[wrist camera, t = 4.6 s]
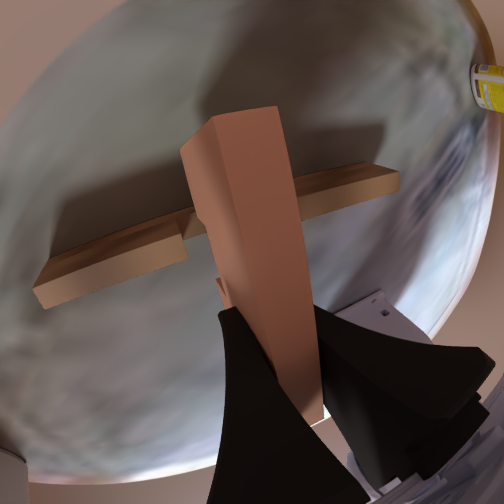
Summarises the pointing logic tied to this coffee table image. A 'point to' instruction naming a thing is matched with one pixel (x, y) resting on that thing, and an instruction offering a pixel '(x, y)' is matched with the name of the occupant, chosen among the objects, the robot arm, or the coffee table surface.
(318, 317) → the robot arm
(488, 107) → the supplement bottle
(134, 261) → the walnut board
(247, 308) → the tan flat plank
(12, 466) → the beverage can
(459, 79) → the coffee table surface
